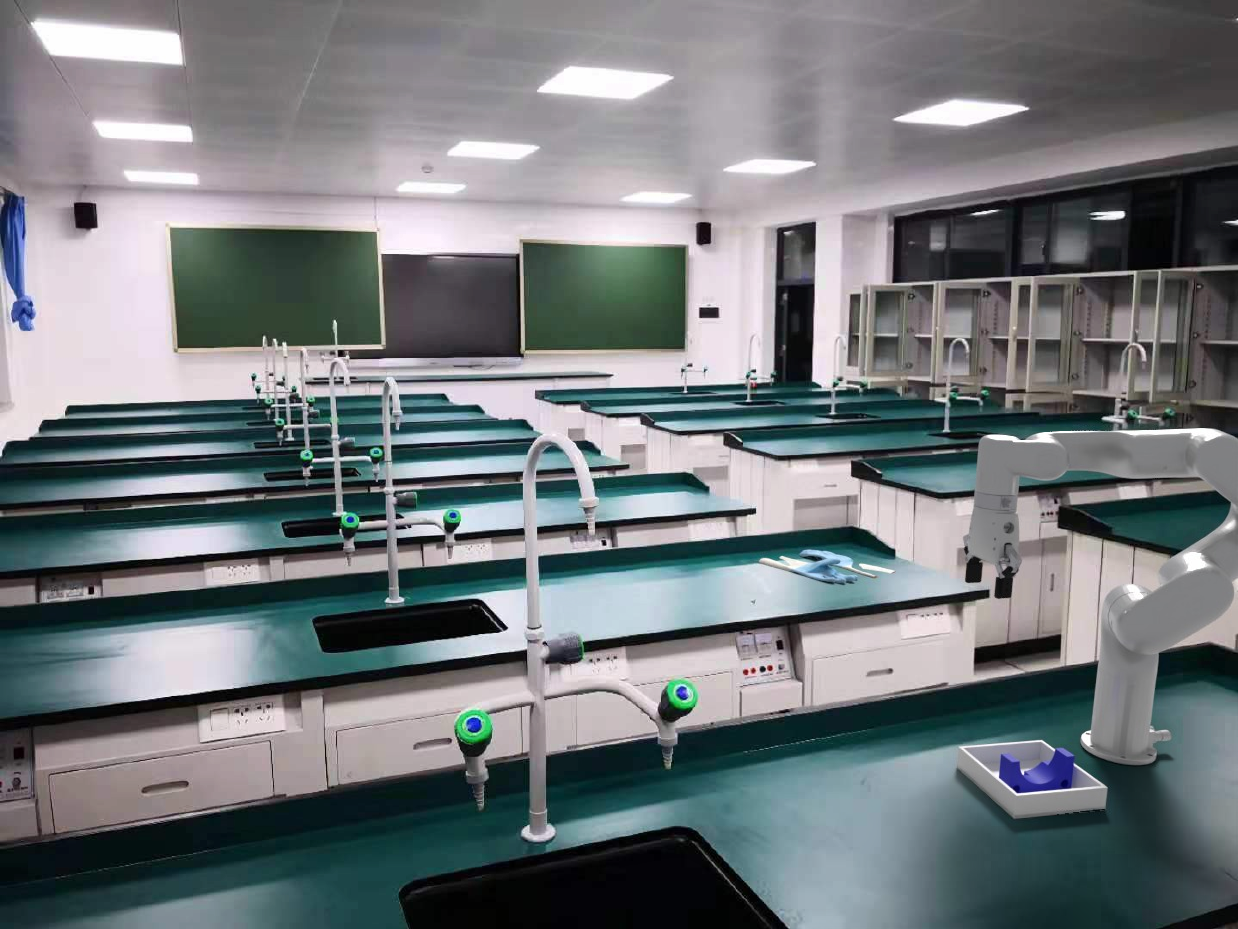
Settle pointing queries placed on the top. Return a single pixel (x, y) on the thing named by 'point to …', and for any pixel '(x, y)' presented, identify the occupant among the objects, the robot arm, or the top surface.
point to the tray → (985, 767)
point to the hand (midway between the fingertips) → (987, 590)
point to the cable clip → (1038, 773)
